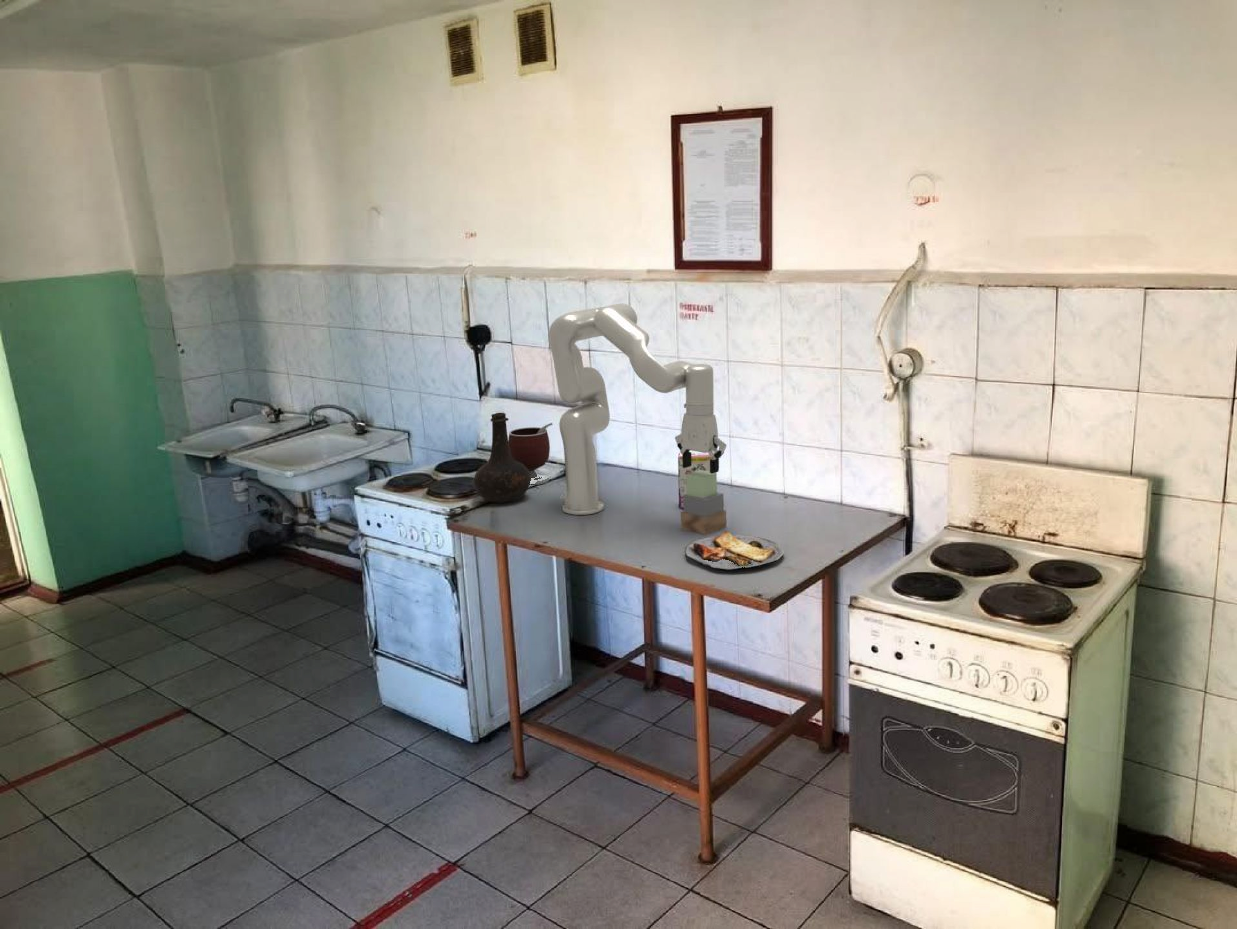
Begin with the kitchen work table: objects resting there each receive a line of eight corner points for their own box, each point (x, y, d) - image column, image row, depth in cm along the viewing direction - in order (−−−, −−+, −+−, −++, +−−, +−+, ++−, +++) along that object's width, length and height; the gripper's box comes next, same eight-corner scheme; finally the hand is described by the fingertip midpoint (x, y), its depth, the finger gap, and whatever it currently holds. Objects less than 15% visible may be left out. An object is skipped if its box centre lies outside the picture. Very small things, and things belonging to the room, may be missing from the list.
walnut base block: (681, 529, 283) (680, 512, 282) (701, 521, 289) (701, 505, 288) (706, 535, 277) (705, 518, 276) (726, 527, 283) (726, 510, 282)
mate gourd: (506, 485, 335) (501, 427, 330) (517, 474, 349) (512, 418, 344) (551, 486, 333) (547, 427, 328) (560, 474, 346) (556, 418, 341)
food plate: (667, 554, 263) (667, 541, 262) (734, 535, 276) (734, 523, 275) (731, 582, 243) (731, 569, 242) (800, 561, 256) (800, 548, 255)
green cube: (686, 495, 281) (686, 474, 279) (699, 490, 285) (699, 469, 283) (703, 498, 277) (703, 477, 275) (716, 493, 281) (716, 472, 279)
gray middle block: (683, 512, 282) (683, 495, 280) (701, 505, 287) (701, 488, 286) (705, 517, 276) (705, 500, 275) (723, 510, 282) (723, 493, 281)
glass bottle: (469, 507, 313) (461, 420, 306) (483, 491, 330) (476, 408, 323) (525, 507, 310) (519, 419, 303) (536, 491, 327) (531, 407, 320)
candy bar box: (678, 509, 301) (677, 456, 297) (679, 504, 306) (677, 452, 302) (716, 508, 300) (715, 455, 296) (716, 503, 305) (715, 451, 300)
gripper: (666, 408, 278) (668, 467, 282) (716, 415, 266) (716, 477, 270) (684, 403, 283) (685, 462, 287) (733, 411, 271) (733, 471, 276)
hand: (700, 469), depth 279 cm, fingers open, 9 cm apart
